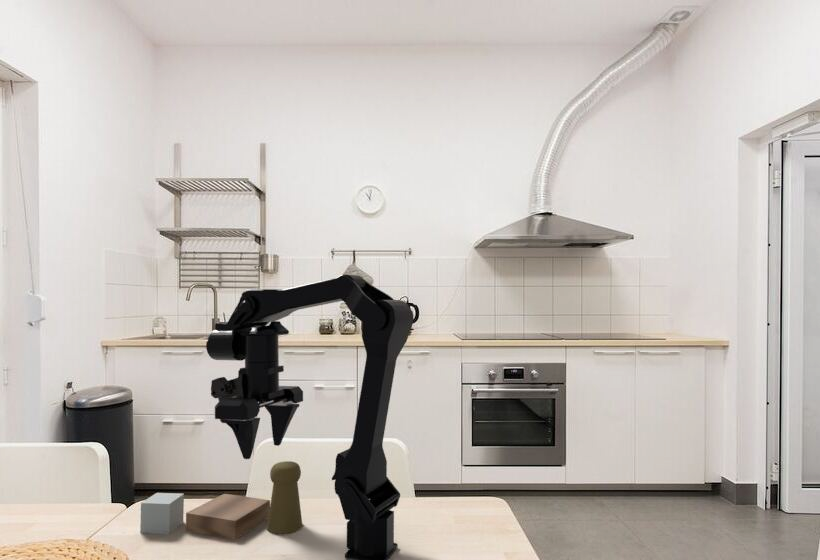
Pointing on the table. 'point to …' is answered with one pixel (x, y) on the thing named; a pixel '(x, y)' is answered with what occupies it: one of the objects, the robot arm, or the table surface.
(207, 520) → the walnut block
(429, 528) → the table surface
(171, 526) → the slate cube
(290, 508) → the olive game pawn
